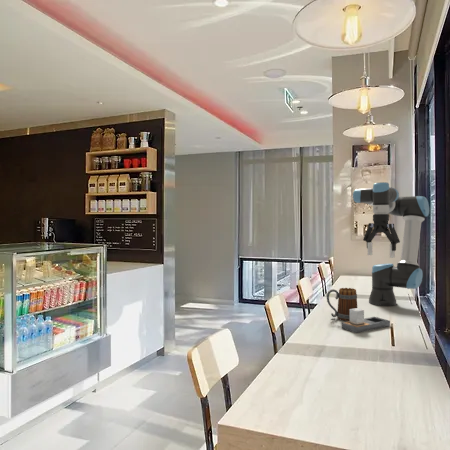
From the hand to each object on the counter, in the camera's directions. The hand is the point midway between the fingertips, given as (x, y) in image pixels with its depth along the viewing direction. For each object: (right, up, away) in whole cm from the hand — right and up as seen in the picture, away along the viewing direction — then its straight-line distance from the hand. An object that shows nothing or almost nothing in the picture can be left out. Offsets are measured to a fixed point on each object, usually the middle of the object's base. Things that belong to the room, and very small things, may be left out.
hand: (380, 256), depth 200 cm
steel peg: (-17, -32, -15) cm, 40 cm away
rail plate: (-12, -32, -12) cm, 36 cm away
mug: (-18, -32, +3) cm, 37 cm away
